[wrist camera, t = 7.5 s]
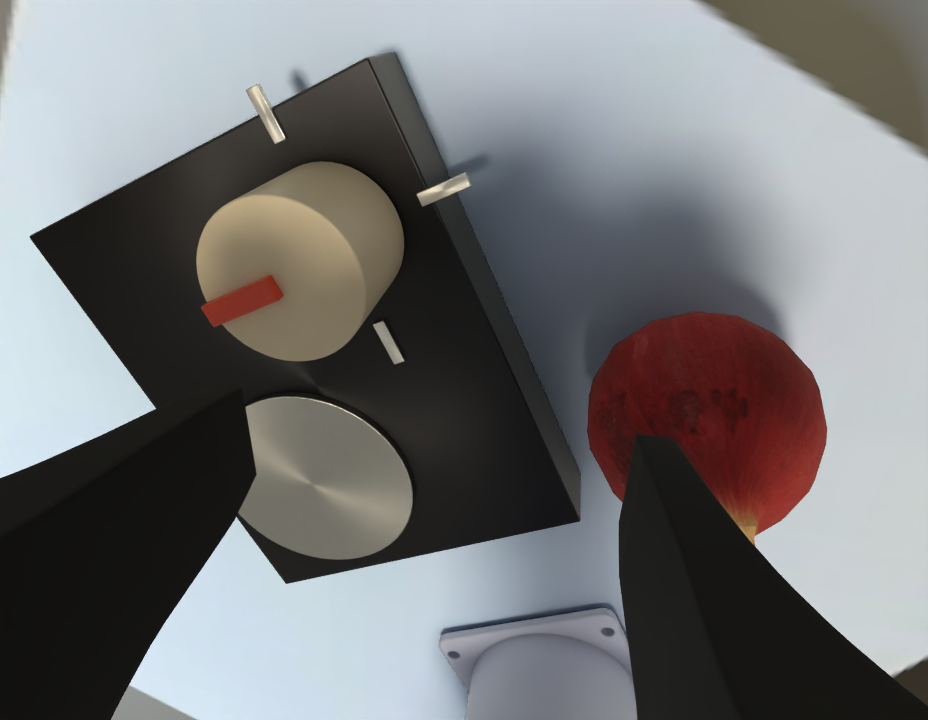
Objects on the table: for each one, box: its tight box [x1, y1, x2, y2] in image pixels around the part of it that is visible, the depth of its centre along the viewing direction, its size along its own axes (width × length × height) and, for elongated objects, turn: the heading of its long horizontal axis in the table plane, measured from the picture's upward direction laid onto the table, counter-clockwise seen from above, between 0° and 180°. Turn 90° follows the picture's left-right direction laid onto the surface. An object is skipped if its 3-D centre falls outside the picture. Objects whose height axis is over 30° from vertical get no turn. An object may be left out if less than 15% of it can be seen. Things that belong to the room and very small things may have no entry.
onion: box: [587, 312, 827, 546], centre depth 16 cm, size 6×6×8 cm
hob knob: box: [196, 161, 404, 361], centre depth 15 cm, size 4×4×4 cm
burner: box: [238, 392, 415, 560], centre depth 21 cm, size 7×7×1 cm
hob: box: [30, 53, 581, 584], centre depth 20 cm, size 16×13×3 cm
